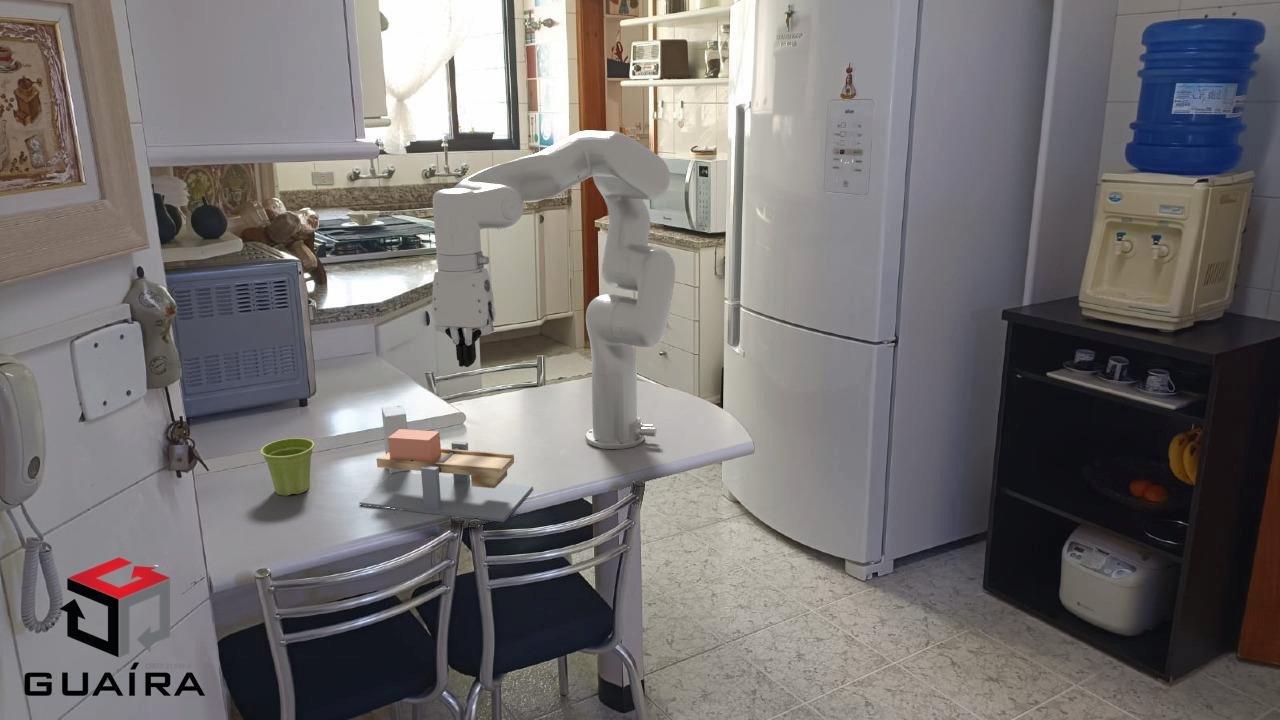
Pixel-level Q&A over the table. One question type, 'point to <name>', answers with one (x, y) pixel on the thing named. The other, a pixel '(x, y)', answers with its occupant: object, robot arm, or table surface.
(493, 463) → the beam
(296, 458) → the plant pot
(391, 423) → the skincare box
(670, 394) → the table surface
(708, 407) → the table surface
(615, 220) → the robot arm
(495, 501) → the stand
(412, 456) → the block
